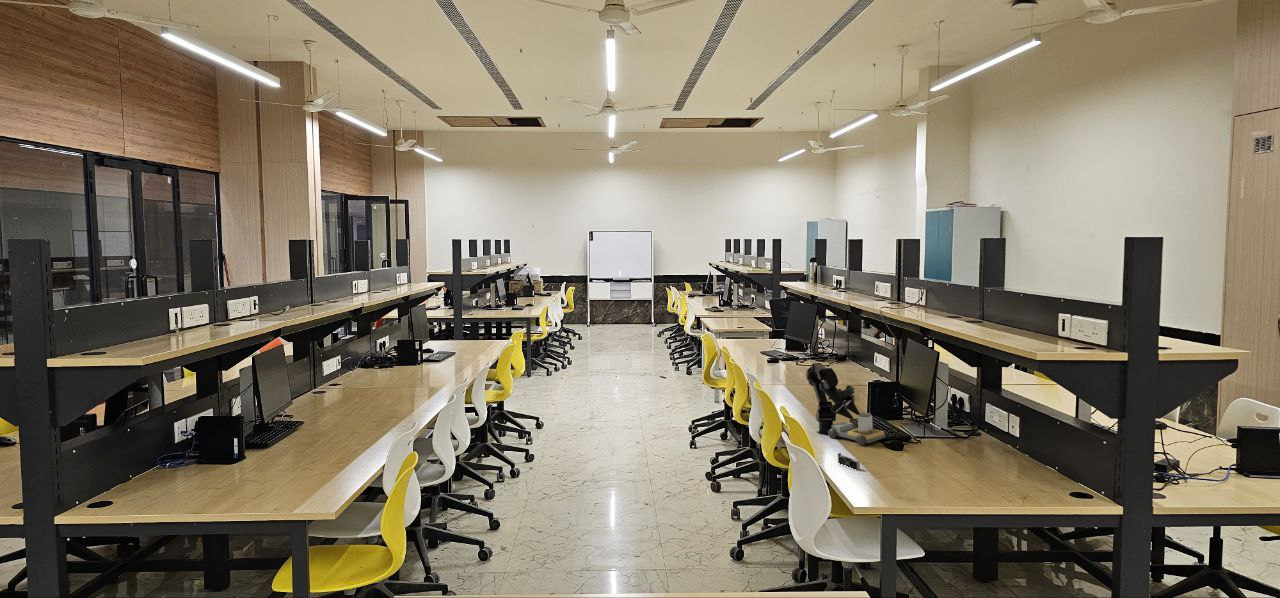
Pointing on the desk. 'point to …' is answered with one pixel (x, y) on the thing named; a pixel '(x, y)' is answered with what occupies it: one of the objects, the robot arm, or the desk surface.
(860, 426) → the grey block
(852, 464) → the graphics card
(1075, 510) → the desk surface
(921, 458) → the desk surface
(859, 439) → the truck
